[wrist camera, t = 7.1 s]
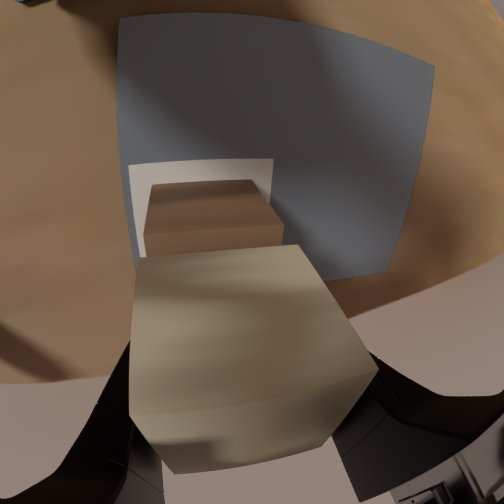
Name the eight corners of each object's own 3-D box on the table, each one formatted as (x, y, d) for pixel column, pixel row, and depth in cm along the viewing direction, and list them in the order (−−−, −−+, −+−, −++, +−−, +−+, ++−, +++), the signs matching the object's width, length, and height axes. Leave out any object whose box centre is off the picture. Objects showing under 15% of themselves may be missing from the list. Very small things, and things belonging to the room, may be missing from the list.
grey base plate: (122, 21, 9) (119, 18, 8) (426, 65, 13) (435, 66, 13) (143, 293, 18) (143, 301, 17) (381, 266, 22) (386, 272, 21)
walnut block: (152, 184, 13) (143, 234, 9) (251, 179, 15) (283, 224, 11) (161, 267, 16) (161, 333, 12) (246, 260, 17) (270, 321, 13)
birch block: (161, 358, 11) (174, 474, 7) (138, 257, 8) (129, 415, 4) (279, 343, 12) (321, 446, 8) (297, 244, 9) (379, 369, 5)
